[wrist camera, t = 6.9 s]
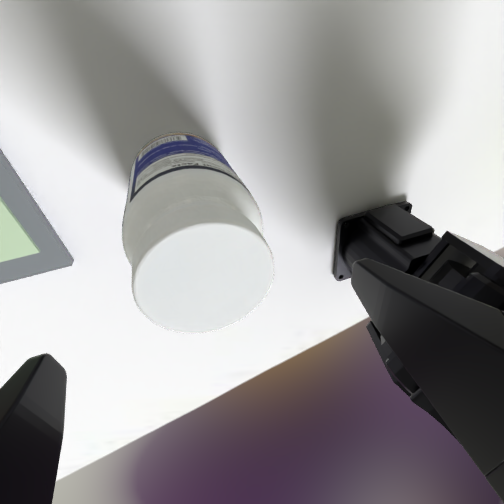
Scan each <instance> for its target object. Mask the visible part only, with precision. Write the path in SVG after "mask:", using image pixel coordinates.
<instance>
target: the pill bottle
mask: <svg viewBox="0 0 504 504" xmlns="http://www.w3.org/2000/svg"><path fill="white" fill-rule="evenodd" d="M122 240H123V246H124V250H125V254H126V256H127V258H128V260H129V263H130V264H131V266H132V292H133V296H134V299H135V302H136V304H137V306H138V307H139V309H140V311H141V312H142V313H143V314H144V315H145V316H146V317H147V318H148V319H149V320H150V321H152V322H153V323H155V324H156V325H158V326H160V327H162V328H165V329H167V330H171V331H174V332H179V333H188V334H195V333H206V332H211V331H216V330H220V329H223V328H225V327H228V326H230V325H232V324H234V323H236V322H238V321H240V320H242V319H243V318H245V317H246V316H247V315H249V314H250V313H251V312H252V311H253V310H255V309H256V308H257V307H258V306H259V304H260V303H261V302H262V301H263V300H264V298H265V297H266V295H267V294H268V292H269V290H270V287H271V285H272V282H273V277H274V260H273V256H272V252H271V250H270V248H269V246H268V244H267V243H266V241H265V239H264V238H263V222H262V217H261V213H260V210H259V208H258V205H257V203H256V201H255V200H254V198H253V197H252V195H251V193H250V192H249V190H248V189H247V188H246V186H245V185H244V184H243V182H242V181H241V180H240V178H239V177H238V176H237V175H236V173H235V172H234V170H233V169H232V168H231V166H230V165H229V164H228V162H227V161H226V160H225V158H224V157H223V156H222V154H221V153H220V152H219V151H218V150H217V149H216V148H215V147H214V146H213V145H212V144H211V143H210V142H208V141H207V140H205V139H203V138H201V137H199V136H196V135H193V134H189V133H181V132H176V133H168V134H164V135H161V136H159V137H157V138H155V139H153V140H151V141H150V142H149V143H147V144H146V145H145V146H144V147H143V148H142V149H141V150H140V152H139V153H138V155H137V157H136V159H135V161H134V163H133V166H132V170H131V175H130V180H129V188H128V194H127V201H126V206H125V211H124V217H123V224H122Z"/></svg>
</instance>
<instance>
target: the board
mask: <svg viewBox="0 0 504 504" xmlns="http://www.w3.org/2000/svg"><path fill="white" fill-rule="evenodd" d="M73 261H74V259H73V258H72V256H71V255H70V253H69V252H68V250H67V249H66V247H65V246H64V244H63V243H62V241H61V240H60V238H59V237H58V235H57V234H56V232H55V231H54V229H53V228H52V226H51V225H50V223H49V222H48V220H47V219H46V217H45V216H44V214H43V213H42V211H41V210H40V208H39V207H38V205H37V204H36V202H35V201H34V199H33V198H32V196H31V195H30V193H29V192H28V190H27V189H26V187H25V186H24V184H23V183H22V181H21V180H20V178H19V176H18V175H17V173H16V172H15V170H14V169H13V167H12V166H11V164H10V163H9V161H8V160H7V158H6V157H5V155H4V154H3V152H2V151H1V149H0V284H2V283H6V282H10V281H14V280H18V279H22V278H25V277H29V276H33V275H37V274H41V273H45V272H49V271H53V270H56V269H60V268H64V267H68V266H72V264H73Z"/></svg>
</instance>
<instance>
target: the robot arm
mask: <svg viewBox="0 0 504 504" xmlns="http://www.w3.org/2000/svg"><path fill="white" fill-rule="evenodd" d="M411 209H412V204H410V203H409V202H407V201H404V202H400V203H397V204H391V205H388V206H384V207H380V208H377V209H373V210H369V211H367V212H364V213H360V214H356V215H353V216H349V217H345V218H343V219H341V220H340V221H339V223H338V230H337V243H336V256H335V269H334V277H335V279H336V280H337V281H342V280H345V279H348V278H351V284H352V287H353V289H354V290H355V292H356V294H357V296H358V297H359V299H360V301H361V302H362V304H363V306H364V308H365V309H366V311H367V313H368V315H369V316H370V318H371V320H372V321H370V322H369V323H368V324H367V326H366V327H367V329H368V331H369V333H370V335H371V337H372V340H373V342H374V344H375V346H376V348H377V350H378V352H379V354H380V356H381V358H382V360H383V363H384V365H385V367H386V369H387V371H388V373H389V374H390V376H391V378H392V380H393V382H394V383H395V384H396V385H398V386H399V387H400V388H401V389H402V390H403V391H404V392H405V393H406V394H407V395H408V396H410V399H411V400H412V401H413V402H414V403H415V404H416V405H418V406H419V407H421V408H422V409H424V410H425V411H426V412H428V413H429V414H430V415H431V416H433V417H434V418H435V419H436V420H437V421H438V422H440V423H441V424H442V425H443V426H444V427H445V428H446V429H447V430H448V431H449V432H450V433H451V434H452V435H453V436H454V437H455V438H456V439H457V440H458V441H459V443H460V444H461V445H462V446H463V447H464V449H465V450H466V451H467V453H468V454H469V456H470V457H471V458H472V460H473V461H474V462H475V464H476V465H477V467H478V468H479V469H480V471H481V472H482V473H483V475H485V477H486V479H487V481H488V482H489V483H490V485H491V486H492V487H493V489H494V490H495V491H496V493H497V494H498V496H499V497H500V498H501V500H502V501H503V503H504V258H503V257H501V256H499V255H497V254H496V253H494V252H492V251H490V250H488V249H487V248H485V247H483V246H481V245H479V244H476V243H474V242H472V241H469V240H467V239H465V238H463V237H460V236H458V235H456V234H453V233H451V232H449V231H446V232H445V234H444V235H443V236H442V237H441V238H440V237H439V236H437V235H435V234H434V229H433V228H432V227H431V226H430V225H428V224H426V223H425V222H423V221H421V220H420V219H418V218H416V217H415V216H413V215H412V214H410V213H411ZM345 223H346V224H345ZM344 224H345V225H344ZM66 382H67V375H66V371H65V369H64V368H63V367H62V366H61V365H60V364H59V363H58V362H57V361H56V360H55V359H54V358H53V357H52V356H51V355H50V354H47V353H46V354H41V355H38V356H35V357H32V358H30V359H28V360H27V361H26V362H25V363H24V364H23V365H22V366H21V367H20V368H19V369H18V370H17V371H16V373H15V374H14V375H13V376H12V377H11V378H10V379H9V380H8V381H7V382H6V383H5V384H4V385H3V386H2V388H1V389H0V504H52V499H53V493H54V487H55V481H56V476H57V470H58V464H59V458H60V452H61V446H62V439H63V431H64V417H65V400H66Z"/></svg>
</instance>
